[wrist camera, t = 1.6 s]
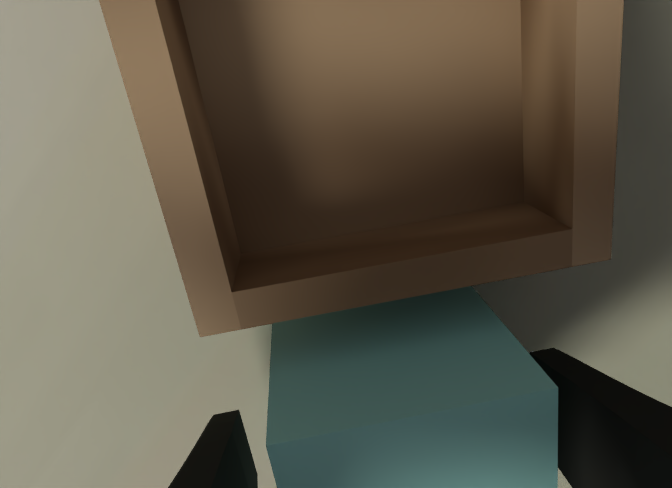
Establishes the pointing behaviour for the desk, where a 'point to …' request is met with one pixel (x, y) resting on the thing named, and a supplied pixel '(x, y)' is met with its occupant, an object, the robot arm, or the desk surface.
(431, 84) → the walnut puzzle board
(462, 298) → the teal block
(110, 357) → the desk surface
